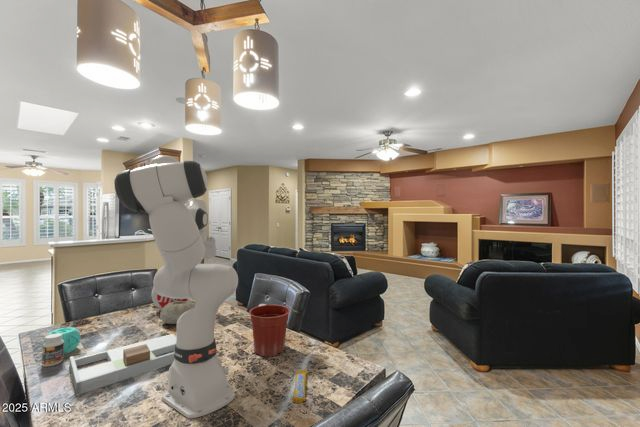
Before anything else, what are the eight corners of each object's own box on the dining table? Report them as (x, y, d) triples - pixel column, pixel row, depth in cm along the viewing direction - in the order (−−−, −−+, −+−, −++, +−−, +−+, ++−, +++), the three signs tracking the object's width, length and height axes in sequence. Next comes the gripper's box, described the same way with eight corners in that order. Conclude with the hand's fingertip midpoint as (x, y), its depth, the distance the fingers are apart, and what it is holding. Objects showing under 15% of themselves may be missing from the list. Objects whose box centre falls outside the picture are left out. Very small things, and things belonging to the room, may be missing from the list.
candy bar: (305, 405, 83) (305, 399, 83) (291, 405, 83) (291, 399, 83) (307, 374, 100) (307, 368, 100) (295, 374, 100) (295, 368, 100)
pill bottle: (44, 368, 100) (45, 340, 100) (39, 364, 103) (40, 336, 103) (65, 362, 104) (66, 334, 105) (60, 357, 108) (61, 331, 108)
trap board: (192, 357, 109) (192, 347, 109) (76, 395, 85) (76, 382, 85) (172, 339, 125) (172, 330, 125) (69, 367, 101) (69, 356, 101)
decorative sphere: (155, 318, 150) (156, 280, 151) (147, 308, 165) (148, 274, 166) (194, 310, 163) (195, 275, 164) (184, 302, 178) (184, 270, 179)
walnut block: (149, 362, 100) (150, 350, 100) (126, 368, 96) (126, 356, 96) (145, 354, 106) (146, 344, 106) (123, 360, 101) (123, 349, 101)
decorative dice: (80, 347, 116) (81, 327, 116) (60, 356, 108) (61, 335, 108) (62, 346, 117) (63, 326, 117) (42, 355, 109) (42, 334, 109)
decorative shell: (187, 313, 159) (187, 295, 159) (205, 320, 148) (206, 301, 148) (153, 322, 144) (153, 303, 144) (171, 331, 134) (171, 310, 134)
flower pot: (240, 350, 116) (241, 310, 116) (272, 338, 128) (273, 302, 128) (264, 364, 105) (265, 320, 105) (297, 349, 117) (298, 310, 117)
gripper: (210, 236, 133) (209, 266, 133) (168, 238, 115) (167, 273, 115) (219, 236, 130) (219, 267, 129) (178, 239, 112) (177, 274, 112)
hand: (194, 270), depth 122 cm, fingers closed
